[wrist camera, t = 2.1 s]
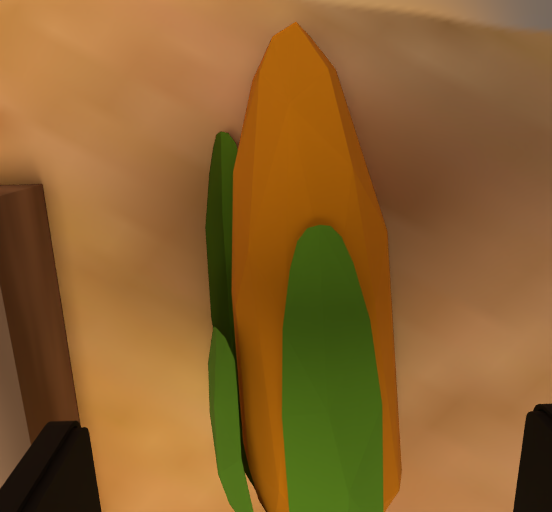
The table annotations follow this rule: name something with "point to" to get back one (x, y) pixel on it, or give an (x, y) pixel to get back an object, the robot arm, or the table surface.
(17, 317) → the board
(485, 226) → the table surface
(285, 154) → the corn
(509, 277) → the table surface
